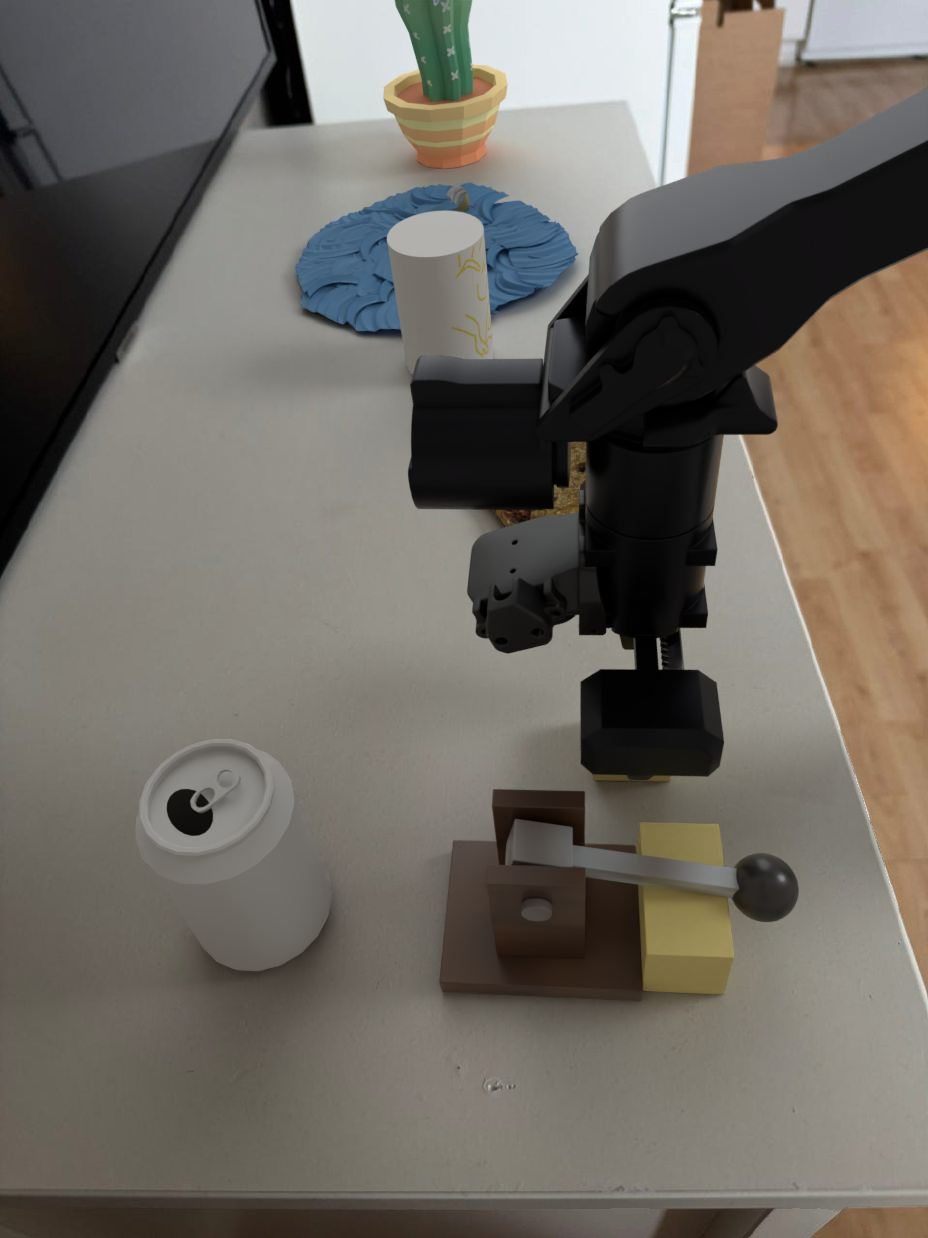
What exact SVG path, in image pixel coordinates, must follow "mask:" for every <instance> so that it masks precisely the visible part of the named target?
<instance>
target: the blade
mask: <svg viewBox="0 0 928 1238" xmlns="http://www.w3.org/2000/svg"><path fill="white" fill-rule="evenodd" d="M505 865H522V866H555V867H585V869H586V877H588V878H595V879H602V880H609V881H617V882H624V883H631V884H638V885H645V886H652V887H659V888H666V889H673V890H680V891H687V892H694V893H701V894H708V895H715V896H722V897H727V898H728V899H729V898H730V899H731V900H732V902H733V905H735V907H736V909H738V910H739V912H740V913H741V914H742V915H744V916H745V917H747V918H749V919H750V920H753V921H756V922H760V923H773V922H777V921H781V920H782V919H784V918H786V917H787V916H789V914H791V912H792V911H793V909H795V907H796V905H797V902H798V900H799V892H800V888H799V882H798V879H797V876H796V873H795V872H794V870H793V869H792V868H791V866H790V865H789V864H788V863H787V862H786V861H784V860H783V859H782V858H780V857H779V856H776V855H773V854H771V853H767V852H758V853H752V854H748V855H747V856H744V857H742V858H741V859H740V860H739V861H737V863H736V864H735V865H734V867H729V866H724V867H723V866H716V865H709V864H702V863H695V862H688V861H681V860H674V859H667V858H660V857H653V856H646V855H639V854H637V853H636V854H632V853H625V852H618V851H611V850H604V849H598V848H591V847H584V846H577V845H573V828H572V827H569V826H562V825H555V824H548V823H541V822H535V821H528V820H521V819H515V820H514V823H513V826H512V829H511V832H510V834H509V837H508V840H507V843H506V858H505Z"/></svg>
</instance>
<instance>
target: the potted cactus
mask: <svg viewBox="0 0 928 1238" xmlns="http://www.w3.org/2000/svg"><path fill="white" fill-rule="evenodd" d="M394 4H395V8H396V11H397V13H398V14H399V16H400V18H401V20H402V22H403V24H404V26H405V28H406V31H407V33H408V34H409V35H408V36H409V39H410V42H411V47H412V50H413V54H414V57H415V60H416V64H417V68H418V69H416V70H413V71H410V72H406V73H403V74H400V75H398V76H397V77H395V78H394V79H392V80H391V81H390V82H389V83H387V84H385V85H384V86H383V96H382V99H383V102H384V105H385V107H386V110H387V112H389V113H391V114H392V115H393V116H394V117H395V121H396V122H397V124H398V127H399V128H400V131H401V133H402V136H404V138H405V139H406V140H407V141H408V143H409V144H411V146H412V147H413V148H414V149H415V150H416V162H418V163H420V164H421V165H423V166H425V167H426V168H432V169H433V168H434V169H442V170H444V169H452V168H462V167H465V166H467V165H468V166H469V165H471V164H473V163H474V164H475V163H477V162H479V161H480V160H481V159H482V158H483V157H484V156H486V154H487V149H486V145H485V143H486V142H487V140H488V138H489V136H490V134H491V133H492V131H493V129H494V128H495V125H496V121H497V117H498V113H499V109H500V105H501V102H503V101H504V100H505V99H506V97H507V92H508V86H509V85H508V80H507V75H506V73H505V72H503V71H501V70H499V69H497V68H494V67H492V66H490V65H485V64H474V63H473V59H472V50H471V41H470V39H471V38H470V31H469V22H470V17H471V11H472V6H473V5H472V4H473V0H394Z"/></svg>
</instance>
